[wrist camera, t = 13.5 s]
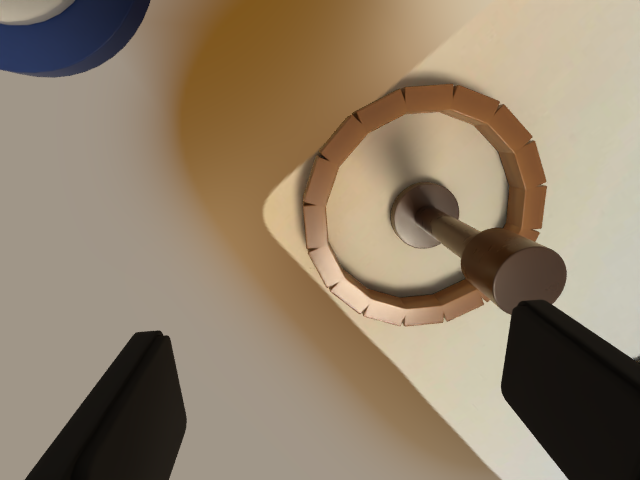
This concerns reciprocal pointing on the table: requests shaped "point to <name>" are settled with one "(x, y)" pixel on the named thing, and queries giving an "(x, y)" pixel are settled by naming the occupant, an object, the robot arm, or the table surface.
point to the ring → (444, 98)
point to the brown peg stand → (479, 248)
